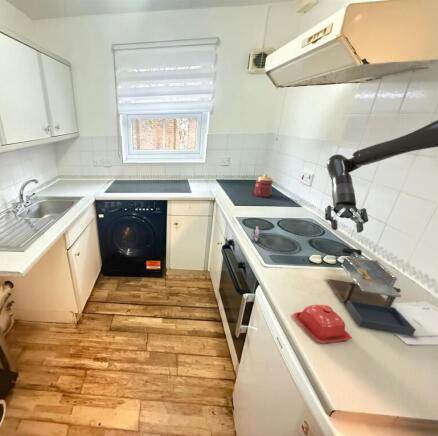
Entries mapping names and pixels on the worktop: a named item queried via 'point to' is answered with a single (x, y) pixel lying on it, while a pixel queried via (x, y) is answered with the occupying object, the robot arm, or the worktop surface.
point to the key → (365, 274)
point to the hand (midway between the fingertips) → (347, 230)
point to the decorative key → (256, 233)
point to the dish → (369, 274)
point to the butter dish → (322, 323)
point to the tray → (379, 317)
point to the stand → (359, 293)
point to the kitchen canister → (263, 186)
